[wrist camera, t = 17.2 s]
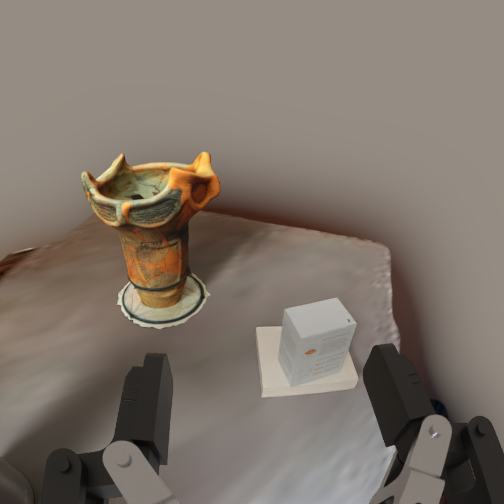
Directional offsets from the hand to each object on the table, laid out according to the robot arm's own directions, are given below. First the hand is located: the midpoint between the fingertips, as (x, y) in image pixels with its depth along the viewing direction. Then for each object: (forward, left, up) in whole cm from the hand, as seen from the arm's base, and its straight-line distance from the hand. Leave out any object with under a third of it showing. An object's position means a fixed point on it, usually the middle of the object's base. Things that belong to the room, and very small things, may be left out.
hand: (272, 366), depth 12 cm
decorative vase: (-14, +40, -30) cm, 52 cm away
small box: (+10, +20, -28) cm, 36 cm away
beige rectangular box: (+10, +23, -30) cm, 39 cm away
